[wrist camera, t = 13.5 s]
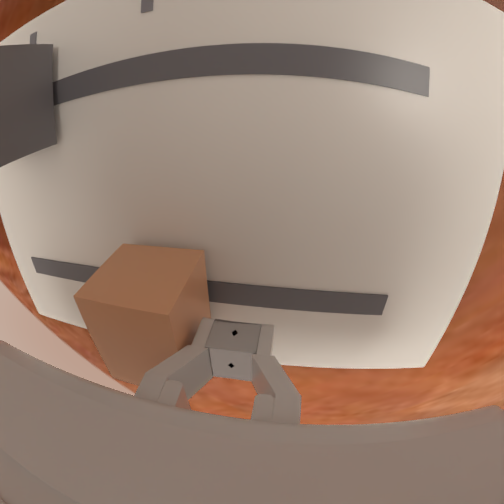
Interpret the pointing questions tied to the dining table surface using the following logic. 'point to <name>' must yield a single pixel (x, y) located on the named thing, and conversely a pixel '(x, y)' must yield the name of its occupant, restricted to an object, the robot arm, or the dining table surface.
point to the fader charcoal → (26, 100)
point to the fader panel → (272, 162)
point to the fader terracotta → (144, 306)
